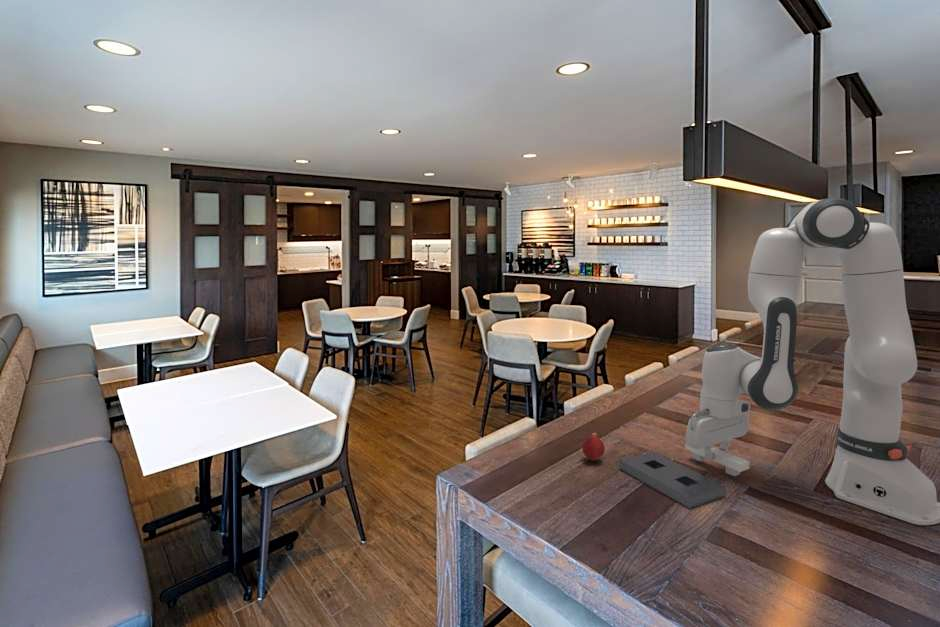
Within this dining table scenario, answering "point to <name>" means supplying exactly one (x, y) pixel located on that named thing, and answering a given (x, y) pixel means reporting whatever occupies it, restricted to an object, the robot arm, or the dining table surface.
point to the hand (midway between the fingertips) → (715, 457)
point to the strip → (722, 459)
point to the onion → (593, 447)
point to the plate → (673, 479)
